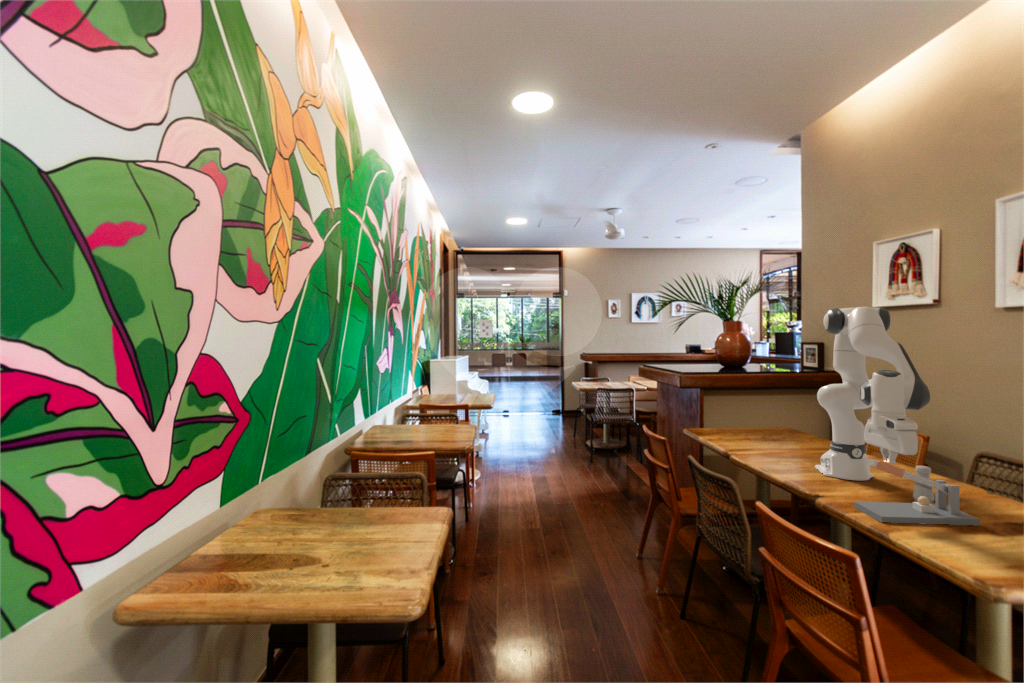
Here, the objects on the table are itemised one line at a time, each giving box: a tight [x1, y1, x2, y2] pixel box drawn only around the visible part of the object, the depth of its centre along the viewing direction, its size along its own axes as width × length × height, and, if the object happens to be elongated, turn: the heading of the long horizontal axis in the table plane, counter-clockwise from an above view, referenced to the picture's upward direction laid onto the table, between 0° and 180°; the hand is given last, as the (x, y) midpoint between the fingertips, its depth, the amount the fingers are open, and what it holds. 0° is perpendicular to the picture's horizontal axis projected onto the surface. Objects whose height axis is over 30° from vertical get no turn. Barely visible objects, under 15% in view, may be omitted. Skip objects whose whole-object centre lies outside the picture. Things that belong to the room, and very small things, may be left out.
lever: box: [868, 457, 949, 495], centre depth 154 cm, size 26×4×4 cm, turn 84°
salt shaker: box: [912, 465, 935, 504], centre depth 166 cm, size 6×6×13 cm
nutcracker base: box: [853, 479, 981, 527], centre depth 154 cm, size 28×14×11 cm, turn 84°
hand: (889, 463), depth 154 cm, fingers closed
